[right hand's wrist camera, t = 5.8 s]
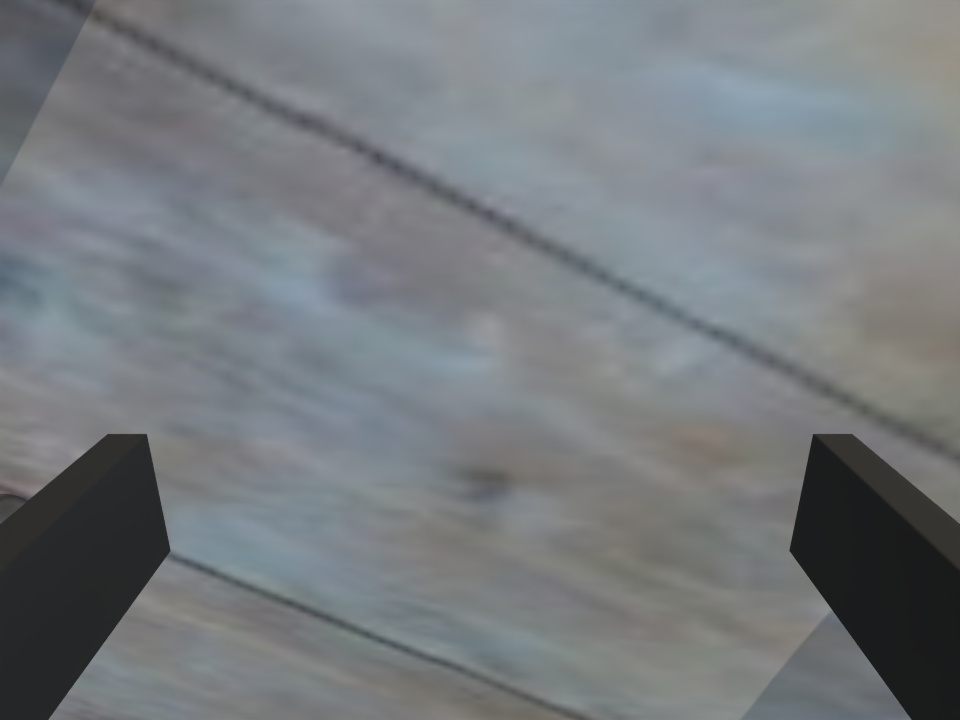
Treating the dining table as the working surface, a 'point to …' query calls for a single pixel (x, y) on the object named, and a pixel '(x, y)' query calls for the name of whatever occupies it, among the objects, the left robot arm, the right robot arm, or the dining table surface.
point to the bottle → (9, 505)
